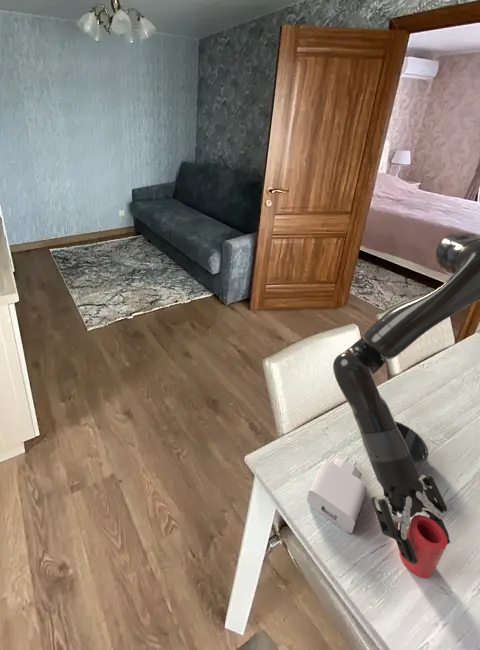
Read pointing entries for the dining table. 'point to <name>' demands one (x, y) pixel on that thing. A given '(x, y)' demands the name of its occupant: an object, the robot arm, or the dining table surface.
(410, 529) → the red cup
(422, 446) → the pan
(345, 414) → the dining table surface
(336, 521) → the charger
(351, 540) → the dining table surface
